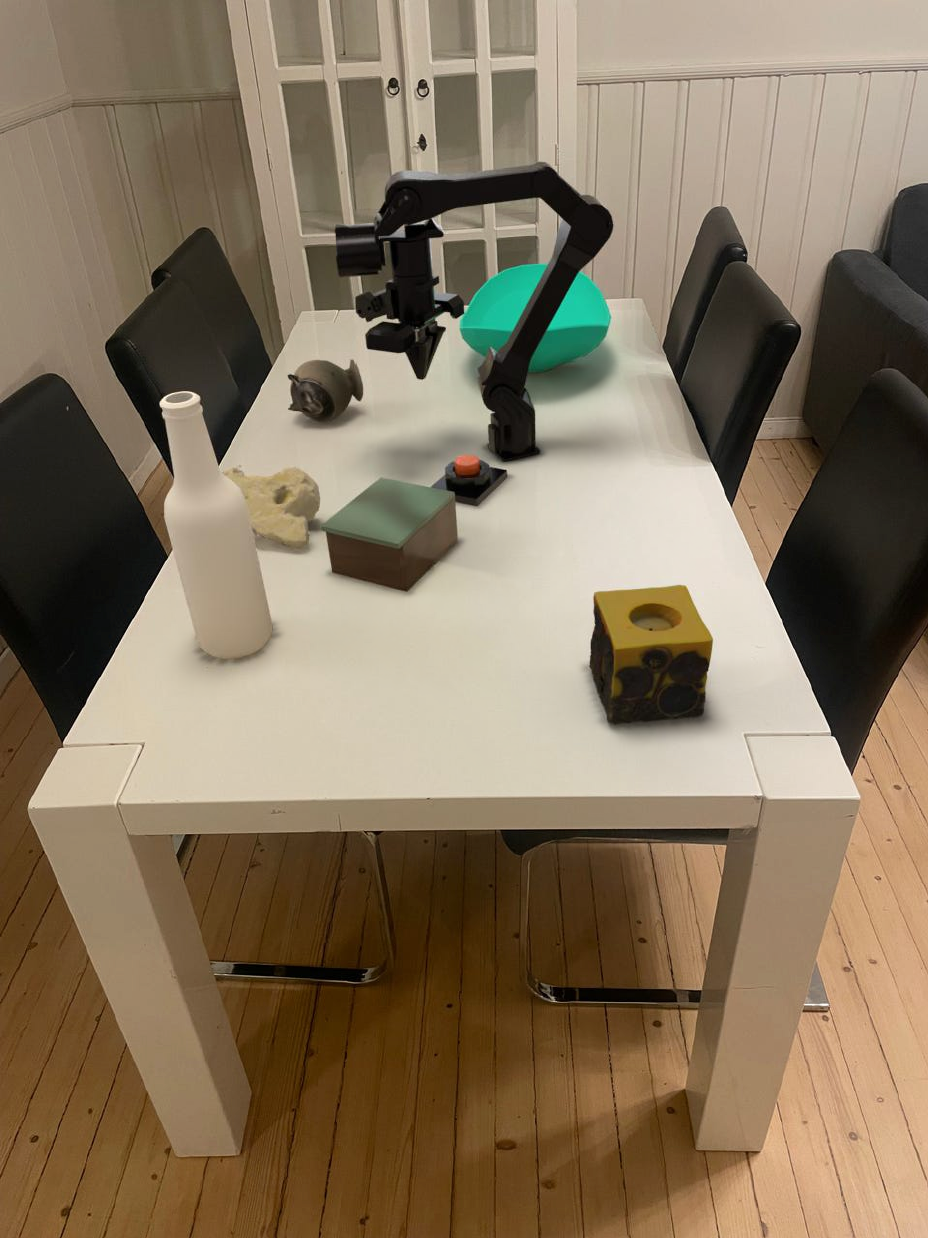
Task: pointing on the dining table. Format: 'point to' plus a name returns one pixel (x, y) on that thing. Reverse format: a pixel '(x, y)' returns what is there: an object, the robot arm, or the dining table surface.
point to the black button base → (471, 483)
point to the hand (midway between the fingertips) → (421, 378)
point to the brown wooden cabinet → (395, 553)
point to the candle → (649, 654)
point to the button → (467, 465)
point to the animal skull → (279, 503)
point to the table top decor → (505, 301)
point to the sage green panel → (388, 512)
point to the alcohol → (212, 539)
